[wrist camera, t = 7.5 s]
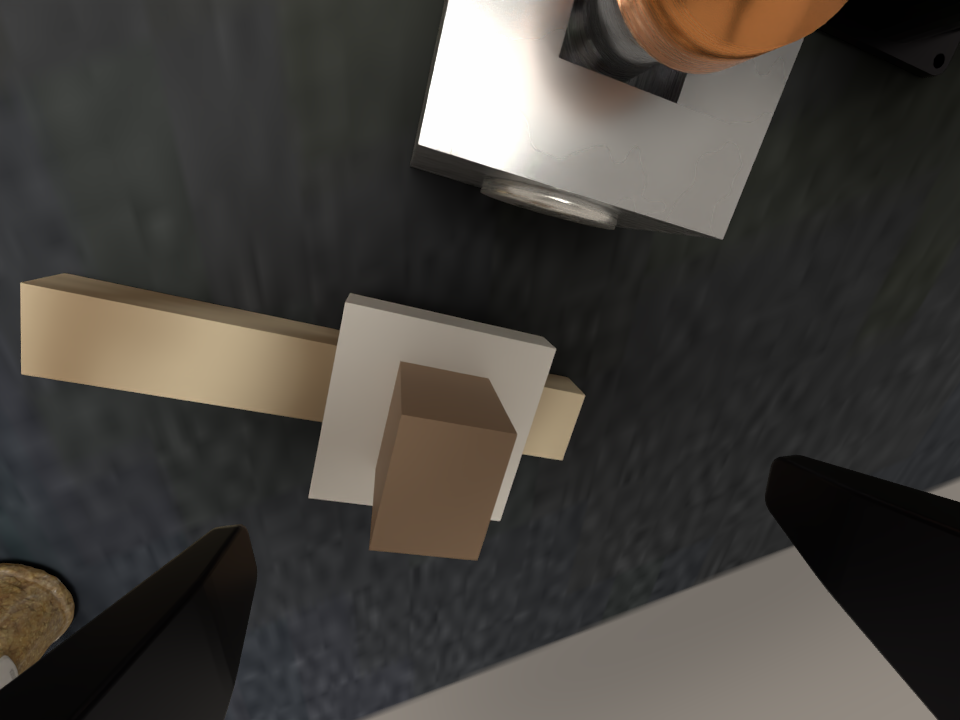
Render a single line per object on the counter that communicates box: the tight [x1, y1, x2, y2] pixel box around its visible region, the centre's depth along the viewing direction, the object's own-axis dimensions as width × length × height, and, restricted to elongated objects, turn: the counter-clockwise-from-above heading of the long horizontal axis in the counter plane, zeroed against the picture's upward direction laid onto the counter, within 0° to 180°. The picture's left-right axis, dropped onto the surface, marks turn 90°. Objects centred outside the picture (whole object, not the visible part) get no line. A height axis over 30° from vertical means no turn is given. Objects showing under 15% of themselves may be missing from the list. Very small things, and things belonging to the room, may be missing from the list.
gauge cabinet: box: [410, 0, 804, 240], centre depth 13 cm, size 8×8×7 cm
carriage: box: [308, 293, 556, 561], centre depth 16 cm, size 7×7×8 cm
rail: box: [21, 273, 585, 460], centre depth 18 cm, size 19×3×2 cm, turn 75°
